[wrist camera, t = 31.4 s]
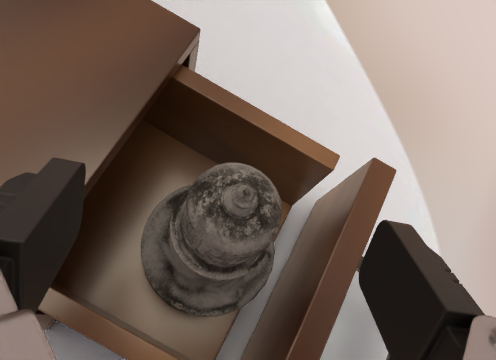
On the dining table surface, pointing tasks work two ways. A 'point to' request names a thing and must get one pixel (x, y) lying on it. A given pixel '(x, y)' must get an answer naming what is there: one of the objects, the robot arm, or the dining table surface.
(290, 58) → the dining table surface
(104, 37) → the cabinet
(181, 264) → the grey stone knobbed piece
